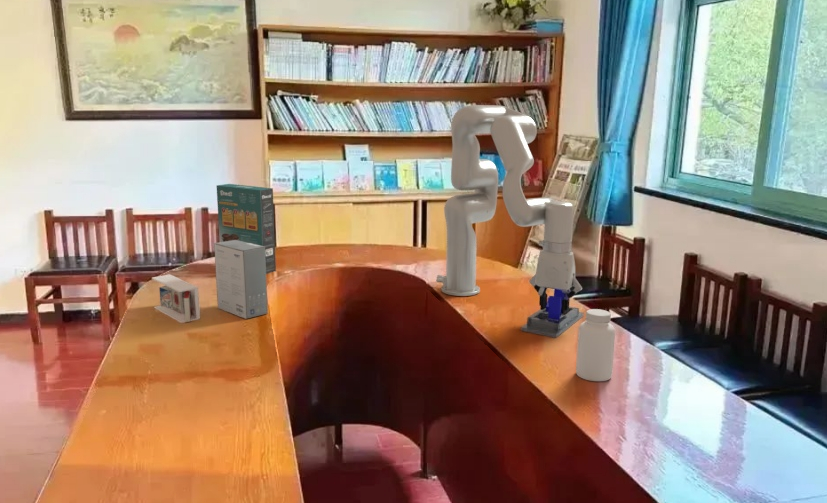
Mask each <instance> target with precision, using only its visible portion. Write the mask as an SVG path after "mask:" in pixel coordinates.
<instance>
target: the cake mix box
mask: <svg viewBox="0 0 827 503" xmlns="http://www.w3.org/2000/svg"><path fill="white" fill-rule="evenodd" d="M216 200H217V216H218V220H217V221H218V233H219V234H218V235H219V236H218V237H219V242H225V241H231V240H238V241H243V242H247V243H252V244H256V245H260V246H264V247H265V261H266V275H267V274H271V273H274V272H277V270H276V269H277V267H276V266H277V264H276V263H277V262H276V261H277V260H276V239H275V238H276V237H275V234H276V233H275V212H274V211H275V210H274V209H275V207H274V188H272V187H271V188H270V187H262V186H254V185H253V186H252V185H244V184H233V183H226V184H218V185H216Z"/></svg>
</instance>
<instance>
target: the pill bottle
mask: <svg viewBox="0 0 827 503" xmlns="http://www.w3.org/2000/svg"><path fill="white" fill-rule="evenodd" d="M611 317H612V315H611V312H610V311H607V310H604V309H600V308H599V309H598V308H591V309H588V310H586V312H585V321H583V322H581V323H580V324H579V326H578V333H577V334H578V335H577V345H576V346H577V348H576V349H577V350H576V362H575V363H576V365H575V373H576V375H577V377H579V378H581V379H583V380H586V381H590V382H606V381H608V380H610V379H611V378H612V376H613V365H614V355H615V354H614V351H615V340H616V328H615V327H614V325H613V324H612V323H610V322H611V320H612V319H611Z"/></svg>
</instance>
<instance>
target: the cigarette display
mask: <svg viewBox="0 0 827 503" xmlns="http://www.w3.org/2000/svg"><path fill="white" fill-rule="evenodd" d="M151 280H153V281H155V282H157V283H159V284H162V285H164V286H159V287H158V290H159V299H160V305H157V306H154V307H153V308H154V309H156V310H158V311H159V312H161V313H163V314H165V315H166V316H168V317H169V318H171V319H173V320H175V321H177V322H179V323H180V324H183V323H190V322H192V321H197V320H200V319H201V312H200V310H201V309H200V296H199V293H200V292H199V286H196V285H195V284H192V283H190V282H189V281H188V282H187V281H185V280H183V279H181V278H179V277H176V275H175V276H174V275H172V274H170V273H169V274H165V275H164V274H163V275H160V276H154V277H153V276H152V277H151Z"/></svg>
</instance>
